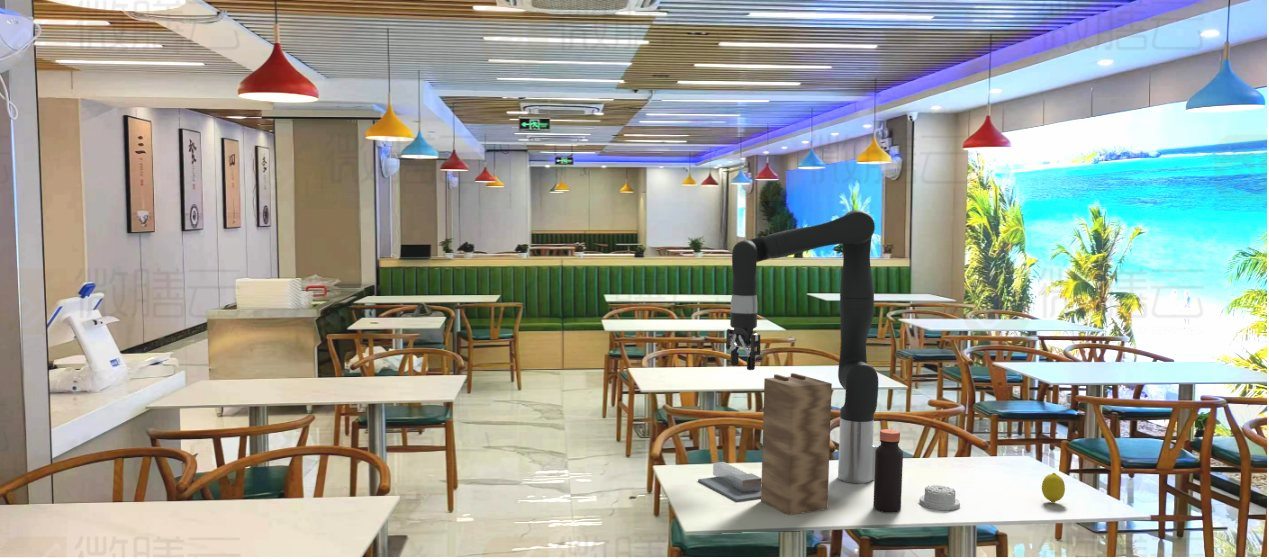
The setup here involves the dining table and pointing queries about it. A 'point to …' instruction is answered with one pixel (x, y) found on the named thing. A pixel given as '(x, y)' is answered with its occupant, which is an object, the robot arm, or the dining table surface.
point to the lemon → (1053, 487)
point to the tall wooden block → (796, 443)
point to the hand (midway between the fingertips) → (742, 367)
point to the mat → (729, 489)
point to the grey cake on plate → (939, 498)
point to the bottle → (888, 473)
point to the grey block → (737, 477)
